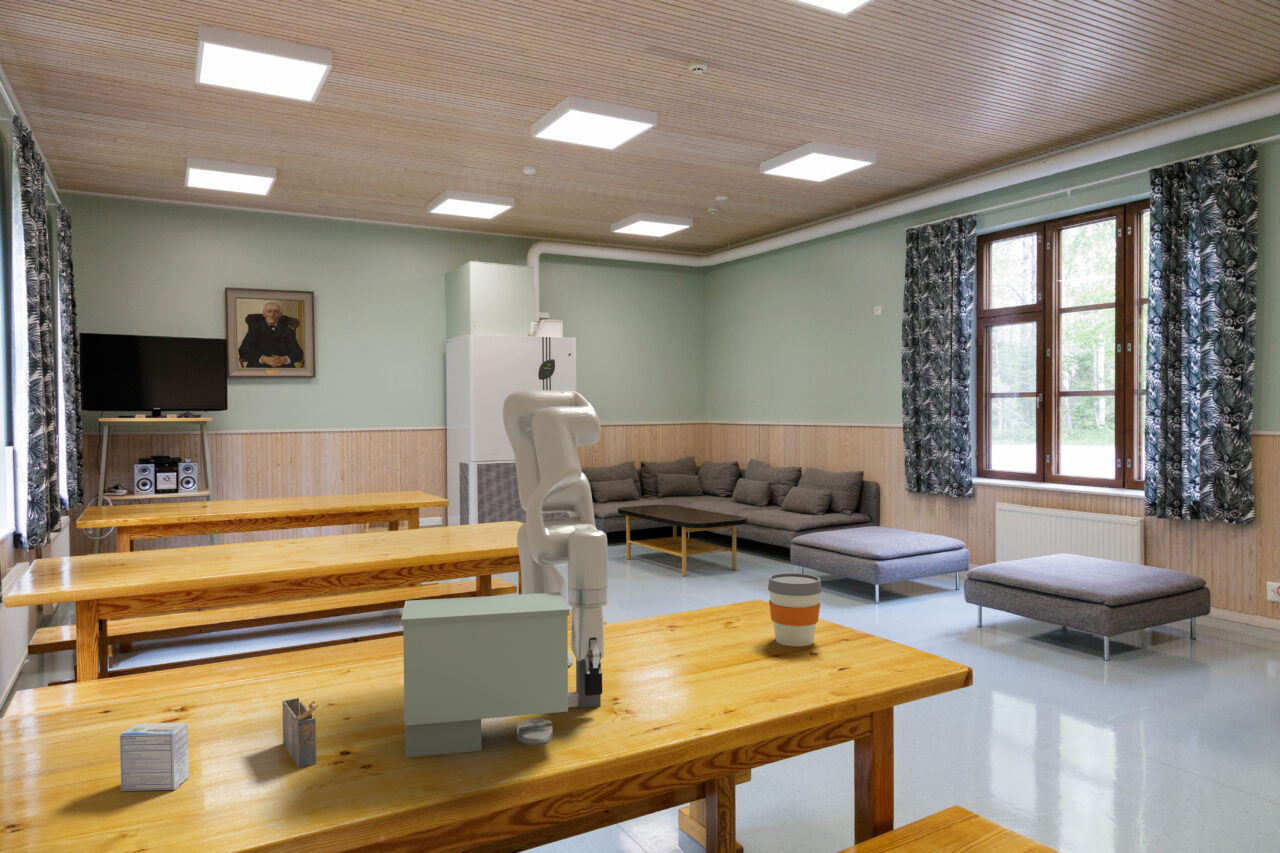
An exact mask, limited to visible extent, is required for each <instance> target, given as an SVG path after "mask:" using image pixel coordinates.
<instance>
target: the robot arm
mask: <svg viewBox="0 0 1280 853" xmlns="http://www.w3.org/2000/svg"><path fill="white" fill-rule="evenodd" d="M502 406H503V407H502V418H503V419H502V420H503V425H504V430H505V432H506V435H507V438H508V441H509V442H510V446H511V447H512V448H511V449H512V451H513V455H514V460H515V469H516V471H515V472H516V480H517V487H518V497H519V503H520V505H521V508H522V510H524V511H525V522H524V523H523V524H521V525H520V527H519V529H518V531H517V533H516V544H517V551H518V556H519V558H518V559H519V564H520V574H521V579H520V580H521V594H539V593H557V592H560V594H561V596H562V597H563V599H564V601H565V603H566V600H567V603H566V604H567V606H568V605H569V607H572V608H571V633H570V634H571V638H570V639H571V640H570V642H571V643H570V648H571V651H572V653H573V654H571V653H570V652H568V667H570V666H571V665H572V664H573V662H574V657H575V660H576V659H577V660H578V661H581V659H585V667H586V673H584V682H585V695H586V696H590V695H601V696H602V694H603V672H602V670H603V669H602V663H601V660H602V659H603V658H604V652H605V650H604V648H605V639H604V636H605V634H604V633H605V632H604V613H603V612H604V608H603V607H604V606H607V605H608V604H609V588H608V587H609V583H608V582H609V581H608V580H609V579H608V576H609V575H608V572H609V571H608V569H609V568H608V537H607V534H606V533H605V532H604V531H603V530H600V529H598V528H597V527H596V520H595V510H594V504H593V497H592V496H593V495H592V489H591V484H590V482H589V480H588V477H587V475H586V474H585V473H584V472H583V471H582V465H581V461H580V456H579V452H578V447H579V446H582V447H583V446H588V447H589V446H593V445H595V444H597V443H598V442H599V440H600V436H601V432H602V430H601V426H602V425H601V421H600V419H599V418H600V417H599V415H598V412H597V411H596V410H595V407H593V405H592V404H591V403H590V402H589V401H588V400H587V399H586V398H585V397H584V396H583V395H582V394H580V393H579V392H578V391H575V390H565V389H563V390H562V389H561V390H560V389H559V390H558V389H557V390H555V389H553V390H551V389H549V390H548V389H527V390H525V389H524V390H518V391H515V392H512V393H510V394H508V395H507V396H506V398H505V399H504V402H503V405H502ZM557 513H567V514H568V516H567V517H547V518H544V516H543V514H557ZM566 564H567V588H566V581H565V578H564V576H563V575H562V574H561V572H560V571H559V570H558V569H557V568H556V567H555V566H556V565H557V566H558V565H566ZM566 589H567V592H566ZM566 593H567V597H566ZM566 598H567V599H566ZM573 655H574V656H573ZM591 655H592V656H591ZM589 662H590V664H589Z"/></svg>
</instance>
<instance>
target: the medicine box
mask: <svg viewBox="0 0 1280 853" xmlns="http://www.w3.org/2000/svg"><path fill="white" fill-rule="evenodd" d="M188 730H189V729H188V723H187V722H153V723H152V722H148V723H147V722H146V723H145V722H144V723H136V724H134V725H132V726H131V727H129V728H127V729H126V730H125V731H123V732H122V733H121V734H120V735H119V757H120V758H119V759H120V785H121V786H120V790H121V792H135V791H136V792H138V791H141V792H142V791H144V792H145V791H174V790H176V789H177V788H178V787H180V786H181V785H182V784H183V783H184V782H185V781H186V780H188V778H189V777H190V767H189V766H190V762H189V736H188V733H189V732H188ZM181 783H182V784H181ZM180 784H181V785H180ZM179 785H180V786H179Z"/></svg>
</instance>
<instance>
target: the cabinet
mask: <svg viewBox="0 0 1280 853" xmlns="http://www.w3.org/2000/svg"><path fill="white" fill-rule="evenodd" d="M569 616H570V608H569V606H568V603H565V601H564V599H563V597H562V596H561V594H560V592H557V593H539V594H522V593H521V594H505V595H490V596H489V595H488V596H485V595H484V596H469V597H453V598H452V597H450V598H434V599H419V600H418V599H416V600H415V599H414V600H405V602H404V606H403V610H402V614H401V619H400V626H402V628H403V629H402V630H403V632H402V633H403V635H402V636H403V638H402V639H403V640H402V641H403V642H402V643H403V706H404V707H403V709H404V713H403V714H404V717H403V718H404V730H405V732H404V733H405V734H404V736H405V758H406V759H408V758H409V759H410V758H419V757H431V756H437V755H438V756H439V755H440V756H441V755H449V754H459V753H471V752H481V751H482V749H483V748H482V737H483V736H482V720H484V719H498V718H507V717H519V716H528V715H529V716H531V715H542V714H553V713H565V712H569V707H568V692H569V680H568V679H569V675H568V674H569V668H568V667H569V666H568V653H569V650H568V649H569V646H568V645H569V644H568V635H569V634H568V617H569Z"/></svg>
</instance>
